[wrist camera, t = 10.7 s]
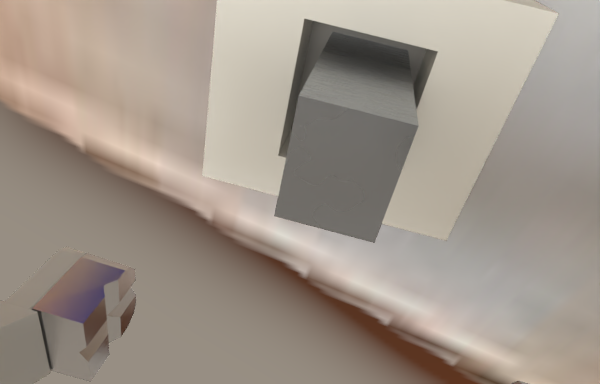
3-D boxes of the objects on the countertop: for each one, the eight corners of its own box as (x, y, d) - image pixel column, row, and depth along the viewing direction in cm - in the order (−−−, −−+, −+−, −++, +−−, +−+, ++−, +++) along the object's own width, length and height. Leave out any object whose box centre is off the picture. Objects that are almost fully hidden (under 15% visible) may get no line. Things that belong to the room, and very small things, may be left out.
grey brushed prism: (408, 50, 22) (418, 125, 14) (379, 136, 25) (374, 242, 17) (332, 31, 23) (299, 95, 14) (312, 119, 25) (274, 215, 17)
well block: (528, -3, 21) (559, 13, 17) (438, 197, 28) (446, 241, 24) (251, -69, 22) (222, -68, 18) (227, 142, 28) (202, 176, 25)
